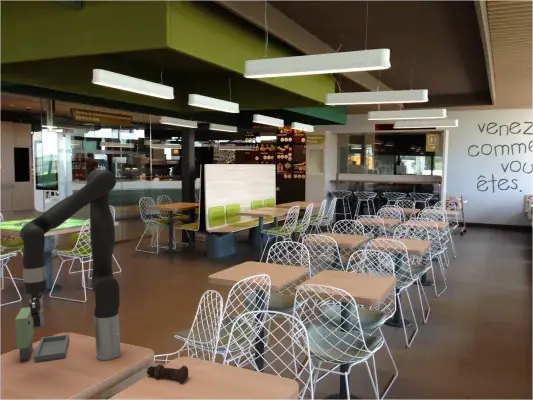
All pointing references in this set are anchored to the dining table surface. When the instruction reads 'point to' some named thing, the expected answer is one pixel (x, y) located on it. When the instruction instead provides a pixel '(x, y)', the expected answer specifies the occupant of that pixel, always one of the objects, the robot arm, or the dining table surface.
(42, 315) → the pin
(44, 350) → the parts tray
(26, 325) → the control unit
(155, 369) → the bolt
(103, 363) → the dining table surface
